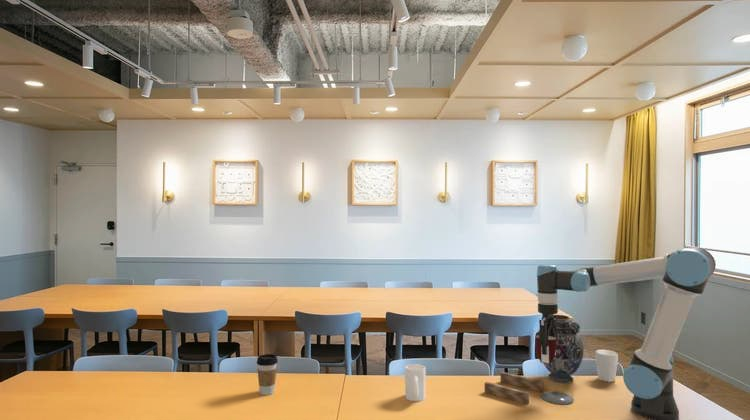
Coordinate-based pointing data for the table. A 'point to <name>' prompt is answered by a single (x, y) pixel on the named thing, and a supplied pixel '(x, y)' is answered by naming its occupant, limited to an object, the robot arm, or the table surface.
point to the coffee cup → (267, 373)
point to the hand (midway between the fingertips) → (548, 359)
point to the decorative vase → (566, 351)
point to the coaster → (557, 397)
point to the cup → (606, 364)
